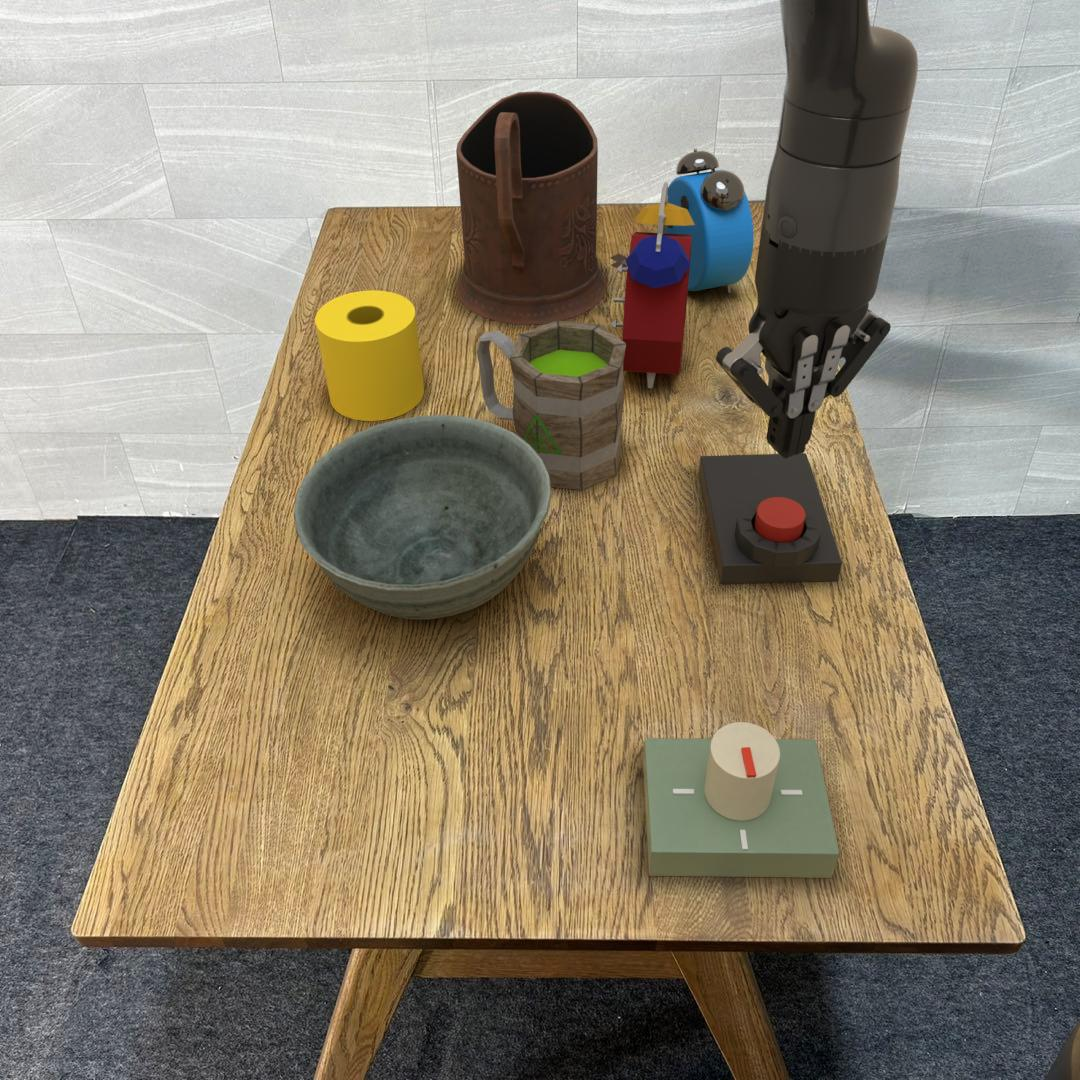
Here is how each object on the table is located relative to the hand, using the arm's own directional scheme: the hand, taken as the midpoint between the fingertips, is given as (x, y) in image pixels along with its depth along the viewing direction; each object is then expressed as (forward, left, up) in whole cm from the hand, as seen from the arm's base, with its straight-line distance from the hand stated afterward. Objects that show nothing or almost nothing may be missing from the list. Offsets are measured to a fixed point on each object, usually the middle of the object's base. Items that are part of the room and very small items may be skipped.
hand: (786, 449), depth 75 cm
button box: (+9, -7, -17) cm, 21 cm away
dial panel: (-15, +13, -17) cm, 26 cm away
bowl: (+16, +22, -17) cm, 33 cm away
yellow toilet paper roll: (+45, +17, -17) cm, 51 cm away
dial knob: (-15, +13, -14) cm, 24 cm away
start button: (+5, -5, -14) cm, 15 cm away
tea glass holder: (+56, -6, -17) cm, 59 cm away
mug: (+28, +5, -17) cm, 34 cm away
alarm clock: (+49, -26, -17) cm, 58 cm away
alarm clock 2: (+37, -11, -17) cm, 42 cm away
